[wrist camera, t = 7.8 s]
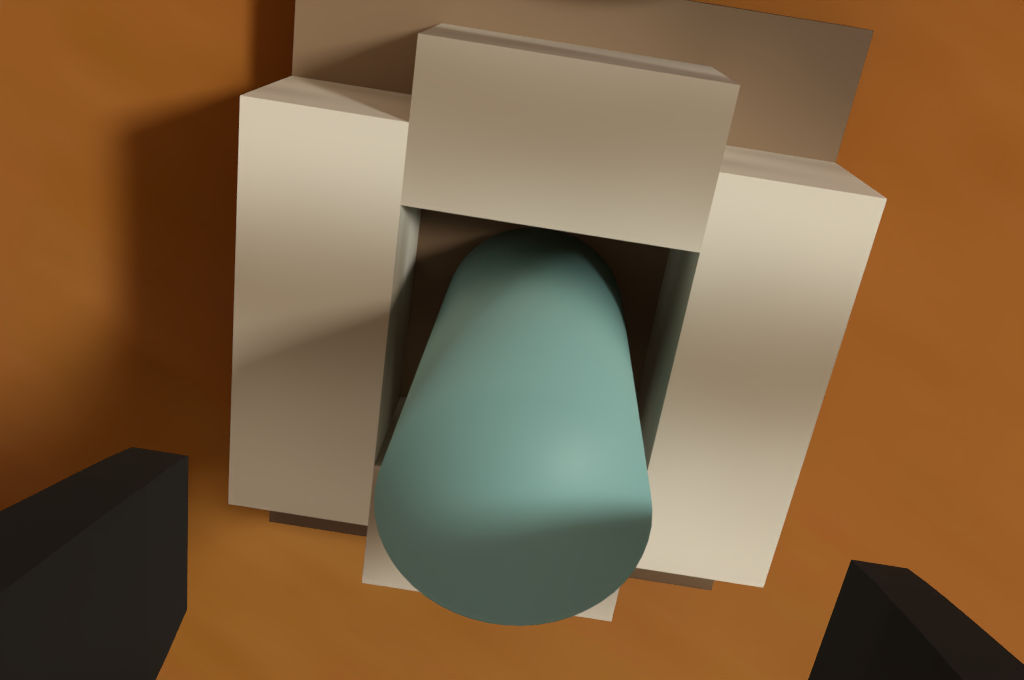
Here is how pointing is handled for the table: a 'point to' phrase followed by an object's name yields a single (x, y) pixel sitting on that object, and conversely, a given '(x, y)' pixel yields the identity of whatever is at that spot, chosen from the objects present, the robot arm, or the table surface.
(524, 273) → the peg
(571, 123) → the socket board
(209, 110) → the table surface
